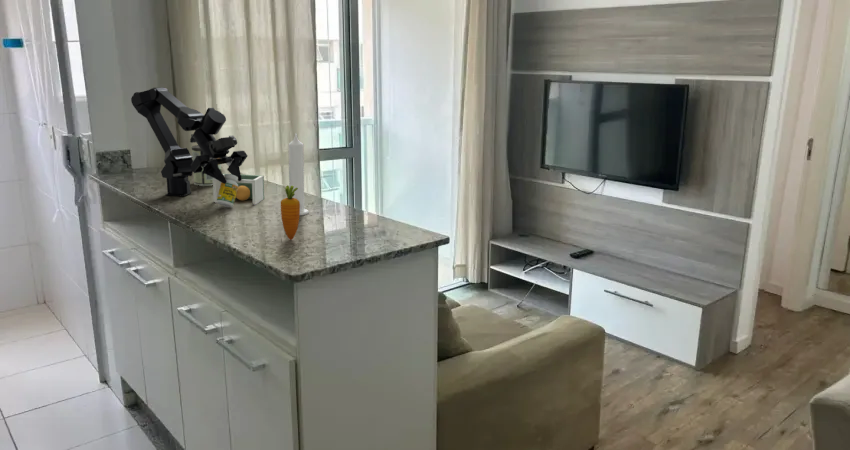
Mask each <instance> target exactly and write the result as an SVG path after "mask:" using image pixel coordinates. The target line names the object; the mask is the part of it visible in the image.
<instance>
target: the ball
mask: <svg viewBox="0 0 850 450" xmlns="http://www.w3.org/2000/svg"><path fill="white" fill-rule="evenodd" d="M249 197H250V190H249V188H248V187H246V186H239V187H238V190H237V194H236V198H235V199H238V201H242V202H243V201H247V200H249V199H248V198H249Z"/></svg>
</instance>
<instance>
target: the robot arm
mask: <svg viewBox="0 0 850 450" xmlns="http://www.w3.org/2000/svg"><path fill="white" fill-rule="evenodd" d="M130 99H131V100H130V101H131V105H132V106H133V107H134V109H135V110H136V112H137V113H138V114H140V115H141V116H142V117H144V118H146V120H147V123H148V124H149V126H150V127H151V129H152V131H153V134H154V135H155V137H156V139H157V140H158V142H159V144H160V146H161V148H162V150H163V151H164V166H163V167H162V169H161V171H160V173H161V174H160V175H161V176H162V178H165V179H166V190H167V192H166V193H165V196H167V197H168V196H170V197H172V196H173V197H186V196H187V195H190V194H191V193H192V191H191V183H190V182H191V181H190V180H189V177H193V174H194V173H199V172H202V170H203V169H204V170H203V172H202V173H203V174H207V175H209V176H211V177H213V178H215V179H217V180H218V181H220V182H222V183H224V184H226V182H227V181H226V179H225V177H224V176H223V174H224V173H222V172H223V171H222V170H221V171H222V172H221V171H220V169H219V167H218V164H221V165H223V164H226V165H227V167H228V168H227V169H226V170H227V171H228V173H229V174H232V175H235V176H237V177H238V181H241V180H242V178H241V175H242V174H241V171H240V167H241V166H242V165H243V163H244V162H245V161H246V159H247V157H248V154H247V153H246V151H245V150H234V151H232V153H231V155H229V156H228V154H229V153H230V150H231V149H232V148H235V147H236V145H238V140H237V138H236V137H235V136H234V135H228V136H226V137H219V138H216V137H215V135H217V134H218V133H219V132H220V131H221V129H222V128H223V126H224V125H225V123H226V121H227V119H226V116H225V114H224V113H222V112H220V111H219V110H216V109H215V108H214V107H208V108H207V109H206V111H205V114H203V112H200V111H198V110H196V109H193V108H191V107H188V106H187V105H186V104H184V103H183V102H182V101H180V100H179V99H178V98H177V97H176V96H174V95H173V94H172V93H171V92H170V91H169V89H168V88H166V87H152V88H149V89H148V90H144V91H136V92H134V93H133V95H132V96H131V98H130ZM162 107H164V109H166V110H167V111H168V112H169V113H171V114H172V115H173V116H174V117H176V122H177V124H178V125H179V126H180V128H181V129H182V130H183V131H185V132H191V131H192V132H193V131H194V132H193V133H192V134H191V135H190V139H189V142H190V143H191V144H194V143H196V145H198V146H199V147H200V149H201V150H202V151H201V152H200V154H201V155H198V156H196V158H195V159H194V161H193V157H192V154H191V152H190V150H189V149H188V148H187V147H184V148H182V147H180V146H179V143H178V142H177V140H176V138H175V137H174V134H173V133H172V131H171V130H170V128H169V126H168V124H167V122H166V120H165V118H164V117H163V115H162V112H161V110H162V109H161V108H162ZM201 166H202V167H203V168H202V167H201ZM193 172H194V173H193Z"/></svg>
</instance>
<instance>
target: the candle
mask: <svg viewBox="0 0 850 450" xmlns="http://www.w3.org/2000/svg"><path fill="white" fill-rule="evenodd" d="M304 147H305V145H304V143H303V142H302V141H300V140H299V138H298V134H297V132H295V133H294V137H293V140H291V141H290V142H289V143H288V182H289V184H288V185H289V189H290V187H291V186H294V188H293V190H294V189H295V188H298V189H297V190H296V191H295V192H294V193H295V195H294V196H293V197H292V198H296V199H297V200H298V201H299V202H300V216H305V215H308V214H309V210H308V209H307V208H305V170H304V169H305V161H304V160H305V157H304V156H305V154H304V153H305V152H304ZM293 190H292V191H293Z"/></svg>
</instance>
